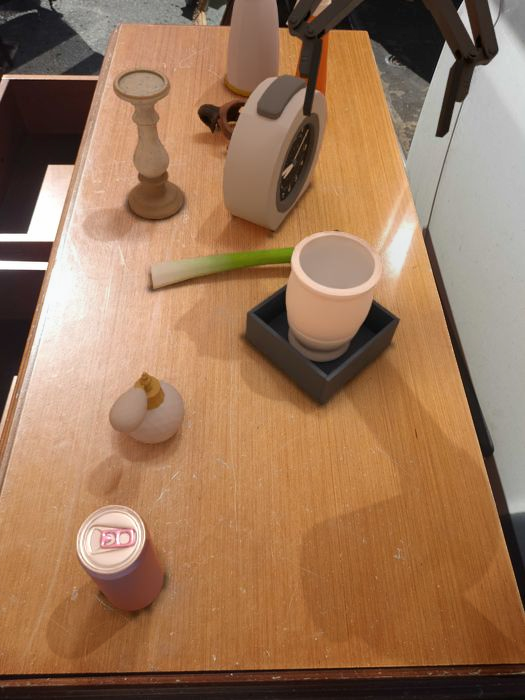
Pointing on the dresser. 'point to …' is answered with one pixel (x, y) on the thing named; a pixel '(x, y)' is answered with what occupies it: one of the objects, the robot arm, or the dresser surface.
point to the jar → (329, 292)
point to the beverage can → (120, 556)
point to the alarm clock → (273, 151)
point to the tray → (315, 377)
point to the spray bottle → (323, 63)
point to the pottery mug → (221, 116)
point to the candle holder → (149, 144)
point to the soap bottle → (252, 45)
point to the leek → (215, 264)
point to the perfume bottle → (148, 410)
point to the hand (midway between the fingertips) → (373, 123)
